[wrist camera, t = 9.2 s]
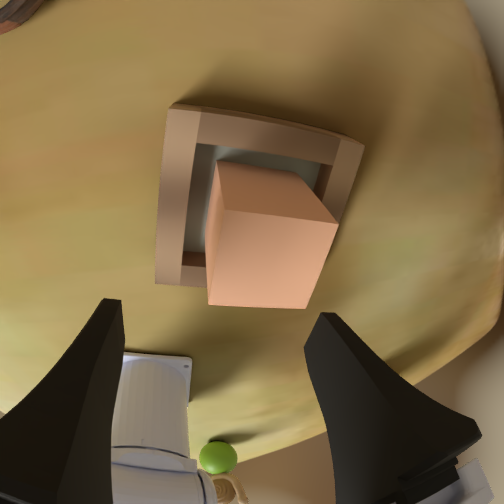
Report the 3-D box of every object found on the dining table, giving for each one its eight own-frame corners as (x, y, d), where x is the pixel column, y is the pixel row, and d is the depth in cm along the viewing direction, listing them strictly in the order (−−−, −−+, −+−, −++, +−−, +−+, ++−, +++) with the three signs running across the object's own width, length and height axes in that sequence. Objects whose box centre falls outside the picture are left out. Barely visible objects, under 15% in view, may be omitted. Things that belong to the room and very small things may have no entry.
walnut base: (301, 270, 22) (312, 293, 20) (158, 259, 20) (155, 283, 17) (345, 134, 17) (365, 145, 15) (173, 103, 14) (168, 108, 12)
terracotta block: (277, 240, 19) (305, 308, 14) (204, 233, 18) (208, 304, 13) (296, 172, 17) (338, 224, 12) (216, 160, 16) (224, 209, 11)
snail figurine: (247, 439, 39) (260, 511, 29) (213, 450, 40) (222, 517, 30) (225, 431, 36) (237, 510, 26) (190, 442, 37) (197, 515, 28)
